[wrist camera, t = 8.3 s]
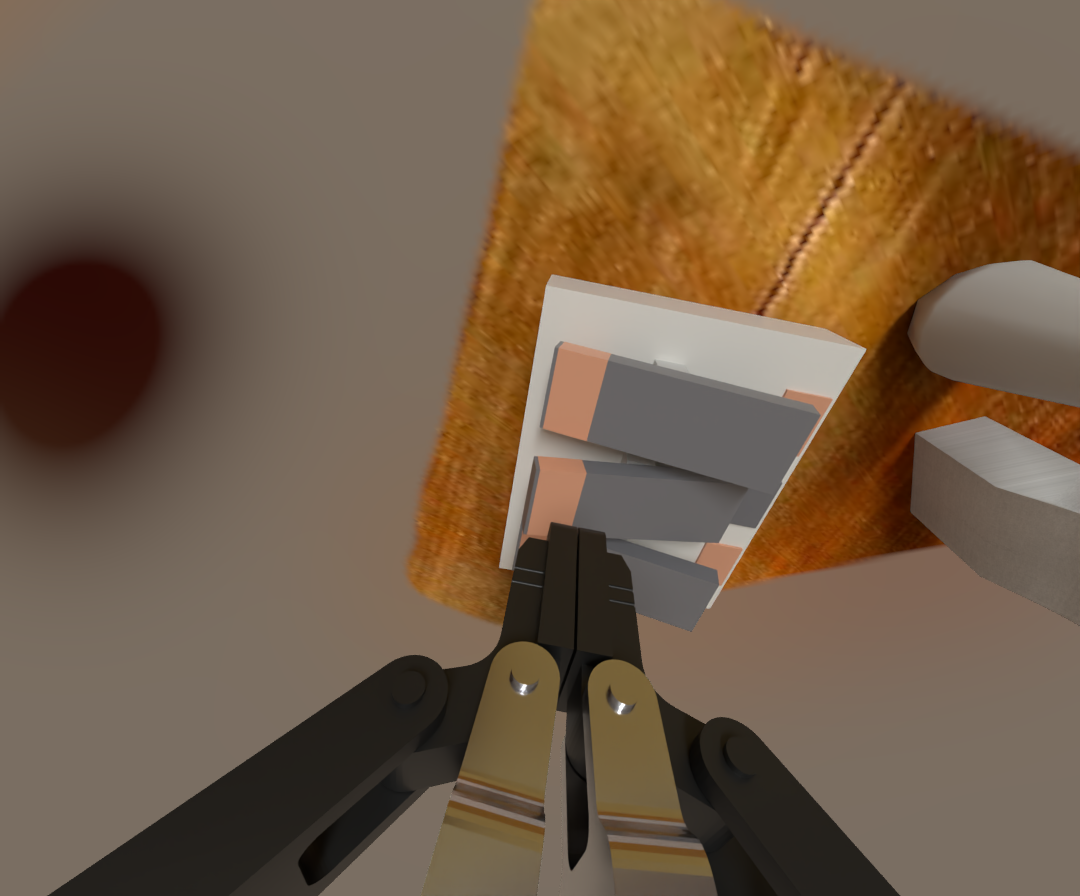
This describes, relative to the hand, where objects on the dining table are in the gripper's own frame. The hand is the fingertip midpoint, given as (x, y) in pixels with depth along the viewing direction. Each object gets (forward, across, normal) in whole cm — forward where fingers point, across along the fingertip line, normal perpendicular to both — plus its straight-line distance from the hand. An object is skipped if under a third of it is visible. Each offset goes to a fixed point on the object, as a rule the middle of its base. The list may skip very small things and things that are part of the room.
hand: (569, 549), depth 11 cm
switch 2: (+10, -4, +5) cm, 12 cm away
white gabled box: (+17, -25, +2) cm, 31 cm away
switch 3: (+10, -4, +11) cm, 16 cm away
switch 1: (+10, -4, 0) cm, 11 cm away
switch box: (+17, -5, +5) cm, 18 cm away
